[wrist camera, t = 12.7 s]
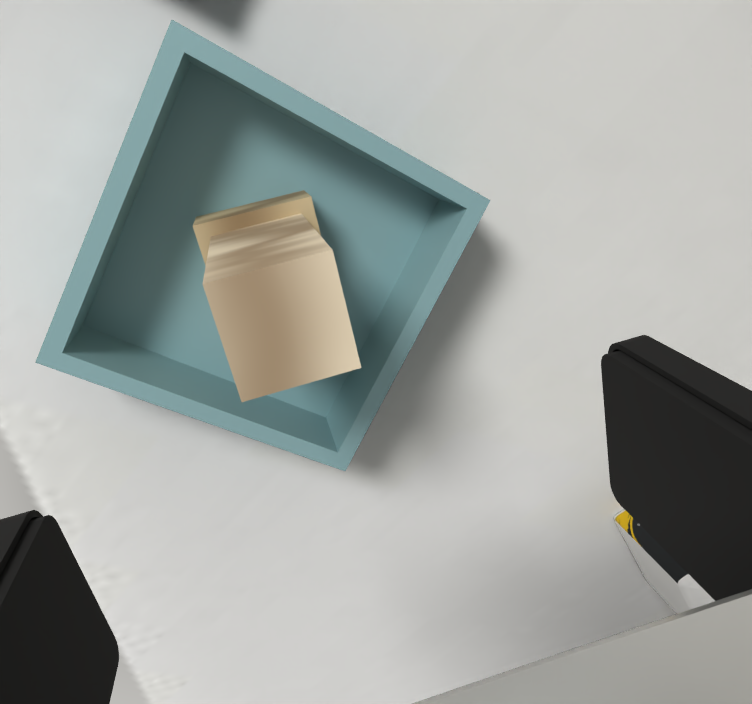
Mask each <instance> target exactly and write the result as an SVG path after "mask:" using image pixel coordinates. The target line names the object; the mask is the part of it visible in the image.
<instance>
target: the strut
mask: <svg viewBox="0 0 752 704" xmlns="http://www.w3.org/2000/svg"><path fill="white" fill-rule="evenodd" d="M193 229H194V232H195V235H196V238H197V241H198V244H199V247H200V250H201V253H202V256H203V260H204V263H205V266H206V267H205V273H204V278H203V287H204V290H205V293H206V296H207V299H208V302H209V305H210V308H211V311H212V314H213V317H214V320H215V323H216V326H217V329H218V332H219V335H220V338H221V341H222V345H223V348H224V351H225V354H226V357H227V360H228V363H229V366H230V369H231V372H232V375H233V378H234V381H235V384H236V387H237V390H238V393H239V396H240V399H241V402H245V401H248V400H252V399H255V398H259V397H262V396H266V395H269V394H272V393H276V392H279V391H283V390H286V389H290V388H293V387H297V386H300V385H304V384H307V383H311V382H314V381H317V380H321V379H324V378H328V377H331V376H335V375H338V374H342V373H345V372H349V371H352V370H356V369H359V368H361V364H360V360H359V356H358V352H357V348H356V343H355V339H354V335H353V331H352V327H351V323H350V319H349V315H348V311H347V306H346V302H345V298H344V294H343V290H342V286H341V282H340V278H339V274H338V270H337V265H336V261H335V257H334V253H333V250H332V249H331V247H330V246H329V245H328V244H327V243H326V242H325V240H324V239H323V238H322V237H321V234H320V230H319V226H318V222H317V218H316V214H315V209H314V205H313V201H312V197H311V196H310V195H309V194H308V193H307V192H305V191H304V190H302V191H298V192H294V193H290V194H286V195H282V196H278V197H274V198H270V199H266V200H262V201H258V202H254V203H250V204H246V205H242V206H238V207H234V208H230V209H226V210H222V211H218V212H214V213H210V214H206V215H202V216H197V217H196V218H195V221H194V224H193Z"/></svg>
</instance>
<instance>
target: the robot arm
mask: <svg viewBox="0 0 752 704" xmlns="http://www.w3.org/2000/svg"><path fill="white" fill-rule="evenodd" d="M601 369H602V382H603V395H604V408H605V422H606V435H607V448H608V461H609V474H610V484H611V489H612V492H613V494H614V496H615V498H616V500H617V501H618V503H619V504H620V505H621V506H622V507H623V508H624V509H625V510H626V511H627V512H628V513H629V514H630V515H631V516H632V517H633V518H634V519H635V520H636V521H637V522H638V523H639V524H640V525H641V526H642V527H643V528H644V529H645V530H646V531H647V532H648V533H649V534H650V535H651V536H652V537H653V538H654V539H655V540H656V541H657V543H658V544H659V545H660V546H661V547H662V548H663V549H664V550H665V551H666V552H667V553H668V554H669V555H670V556H671V557H672V558H673V559H674V560H675V561H676V562H677V563H678V564H679V565H680V566H681V567H682V568H683V569H684V570H685V571H686V572H687V573H688V574H689V575H690V576H691V577H692V578H693V579H694V580H695V581H696V582H697V583H698V584H699V585H700V586H701V587H702V588H703V589H704V590H705V591H706V592H707V593H708V594H709V595H710V596H711V597H712V598H713V599H714V600H715V601H714V602H711V603H708V604H705V605H702V606H699V607H696V608H693V609H690V610H687V611H684V612H681V613H678V614H675V615H672V616H669V617H666V618H663V619H660V620H657V621H654V622H651V623H648V624H646V625H643V626H640V627H637V628H634V629H631V630H628V631H625V632H622V633H619V634H616V635H613V636H610V637H607V638H604V639H601V640H598V641H595V642H592V643H589V644H586V645H583V646H580V647H577V648H574V649H571V650H568V651H565V652H562V653H559V654H556V655H553V656H550V657H547V658H544V659H541V660H538V661H535V662H533V663H530V664H527V665H524V666H521V667H518V668H515V669H512V670H509V671H506V672H503V673H500V674H497V675H494V676H492V677H489V678H486V679H483V680H480V681H477V682H474V683H471V684H468V685H465V686H462V687H459V688H456V689H453V690H451V691H448V692H445V693H442V694H439V695H436V696H433V697H430V698H427V699H424V700H421V701H418V702H415V703H413V704H752V391H751V390H749V389H747V388H745V387H743V386H741V385H739V384H738V383H736V382H734V381H732V380H730V379H728V378H726V377H724V376H722V375H721V374H719V373H717V372H715V371H713V370H711V369H709V368H707V367H706V366H704V365H702V364H700V363H698V362H696V361H694V360H692V359H690V358H689V357H687V356H685V355H683V354H681V353H679V352H677V351H675V350H673V349H672V348H670V347H668V346H666V345H664V344H662V343H660V342H658V341H656V340H655V339H653V338H651V337H649V336H646V335H642V336H638V337H635V338H631V339H628V340H624V341H621V342H617V343H614V344H612V345H611V346H610V348H609V351H608V354H605V355H604V356H603V357H602V360H601ZM118 662H119V651H118V645H117V641H116V639H115V637H114V635H113V633H112V631H111V629H110V627H109V625H108V623H107V621H106V619H105V617H104V615H103V613H102V611H101V609H100V607H99V605H98V603H97V601H96V599H95V597H94V595H93V593H92V591H91V589H90V587H89V585H88V583H87V581H86V579H85V577H84V575H83V573H82V571H81V569H80V567H79V565H78V563H77V561H76V559H75V557H74V555H73V553H72V551H71V549H70V547H69V545H68V543H67V541H66V539H65V537H64V535H63V533H62V531H61V529H60V527H59V525H58V523H57V521H56V520H55V519H54V518H53V517H52V516H50V515H47V516H44V517H43V516H42V515H41V514H40V513H39V512H38V511H35V510H32V511H29V512H26V513H22V514H18V515H15V516H11V517H8V518H4V519H1V520H0V704H109V702H110V698H111V694H112V689H113V685H114V680H115V676H116V671H117V667H118Z"/></svg>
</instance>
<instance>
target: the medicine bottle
mask: <svg viewBox="0 0 752 704" xmlns="http://www.w3.org/2000/svg"><path fill="white" fill-rule="evenodd" d="M614 521H615V523H616V525H617V527H618V529H619V530H620V532H621V534H622V536H623V538H624V540H625V542H626V543H627V545H628V547H629V549H630V551H631V553H632V555H633V557H634V558H635V560H636V562H637V564H638V566H639V568H640V570H641V572H642V573H643V575H644V577H645V579H646V581H647V582H648V583H649V584H650V585H651V586H652V588H653V589H654V590H655V591H656V592H657V593H658V594H659V595H660V596H661V597H662V598H663V599H664V601H665V602H666V603H667V604H668V605H669V606H670V607H671V608H672V609H673V610H674V611H675V612H676V614H678V613H681V612H684V611H687V610H690V609H693V608H696V607H699V606H702V605H705V604H708V603H711V602H714V601H715V600H714V599H713V598H712V597H711V596H710V595H709V594H708V593H707V592H706V591H705V590H704V589H703V588H702V587H701V586H700V585H699V584H698V583H697V582H696V581H695V580H694V579H693V578H692V577H691V576H690V575H689V574H688V573H687V572H686V571H685V570H684V569H683V568H682V567H681V566H680V565H679V564H678V563H677V562H676V561H675V560H674V559H673V558H672V557H671V556H670V555H669V554H668V553H667V552H666V551H665V550H664V549H663V548H662V547H661V546H660V545H659V544H658V543H657V541H656V540H655V539H654V538H653V537H652V536H651V535H650V534H649V533H648V532H647V531H646V530H645V529H644V528H643V527H642V526H641V525H640V524H639V523H638V522H637V521H636V520H635V519H634V518H633V517H632V516H631V515H630V514H629V513H628V512H627V511H626V510H625V509H624V510H622V511H621V512H619V513H618V514H616V515H615V517H614Z"/></svg>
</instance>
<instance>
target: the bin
mask: <svg viewBox="0 0 752 704" xmlns="http://www.w3.org/2000/svg"><path fill="white" fill-rule="evenodd" d="M302 190H304V191H305V192H307V193H308V194H309V195H310V196H311V197H312V201H313V205H314V209H315V214H316V218H317V222H318V226H319V230H320V234H321V237H322V238H323V239H324V240H325V242H326V243H327V244H328V245H329V246H330V247H331V249H332V250H333V253H334V257H335V261H336V265H337V270H338V274H339V278H340V282H341V286H342V290H343V294H344V298H345V302H346V306H347V311H348V315H349V319H350V323H351V327H352V331H353V335H354V339H355V343H356V348H357V352H358V356H359V360H360V364H361V368H359V369H356V370H352V371H349V372H345V373H342V374H338V375H335V376H331V377H328V378H324V379H321V380H317V381H314V382H311V383H307V384H304V385H300V386H297V387H293V388H290V389H286V390H283V391H279V392H276V393H272V394H269V395H266V396H262V397H259V398H255V399H252V400H248V401H245V402H241V399H240V396H239V393H238V390H237V387H236V384H235V381H234V378H233V375H232V372H231V369H230V366H229V363H228V360H227V357H226V354H225V351H224V348H223V345H222V341H221V338H220V335H219V332H218V329H217V326H216V323H215V320H214V317H213V314H212V311H211V308H210V305H209V302H208V299H207V296H206V293H205V290H204V287H203V278H204V273H205V267H206V266H205V263H204V260H203V256H202V253H201V250H200V247H199V244H198V241H197V238H196V235H195V232H194V229H193V224H194V221H195V218H196V217H197V216H202V215H206V214H210V213H214V212H218V211H222V210H226V209H230V208H234V207H238V206H242V205H246V204H250V203H254V202H258V201H262V200H266V199H270V198H274V197H278V196H282V195H286V194H290V193H294V192H298V191H302ZM489 202H490V200H489V199H487V198H485V197H483V196H482V195H480V194H478V193H476V192H475V191H473V190H471V189H469V188H468V187H466V186H464V185H462V184H461V183H459V182H457V181H455V180H453V179H452V178H450V177H448V176H446V175H445V174H443V173H441V172H439V171H438V170H436V169H434V168H432V167H431V166H429V165H427V164H425V163H424V162H422V161H420V160H418V159H417V158H415V157H413V156H411V155H409V154H408V153H406V152H404V151H402V150H401V149H399V148H397V147H395V146H394V145H392V144H390V143H388V142H387V141H385V140H383V139H381V138H380V137H378V136H376V135H374V134H372V133H371V132H369V131H367V130H365V129H364V128H362V127H360V126H358V125H357V124H355V123H353V122H351V121H350V120H348V119H346V118H344V117H343V116H341V115H339V114H337V113H336V112H334V111H332V110H330V109H328V108H327V107H325V106H323V105H321V104H320V103H318V102H316V101H314V100H313V99H311V98H309V97H307V96H306V95H304V94H302V93H300V92H299V91H297V90H295V89H293V88H291V87H290V86H288V85H286V84H284V83H283V82H281V81H279V80H277V79H276V78H274V77H272V76H270V75H269V74H267V73H265V72H263V71H262V70H260V69H258V68H256V67H255V66H253V65H251V64H249V63H247V62H246V61H244V60H242V59H240V58H239V57H237V56H235V55H233V54H232V53H230V52H228V51H226V50H225V49H223V48H221V47H219V46H218V45H216V44H214V43H212V42H211V41H209V40H207V39H205V38H203V37H202V36H200V35H198V34H196V33H195V32H193V31H191V30H189V29H188V28H186V27H184V26H182V25H181V24H179V23H177V22H175V21H174V20H171V23H170V25H169V28H168V30H167V33H166V35H165V38H164V40H163V43H162V45H161V48H160V50H159V53H158V55H157V58H156V60H155V63H154V65H153V68H152V70H151V73H150V75H149V78H148V80H147V83H146V85H145V88H144V90H143V93H142V96H141V98H140V101H139V103H138V106H137V108H136V111H135V113H134V116H133V118H132V121H131V123H130V126H129V128H128V131H127V133H126V136H125V138H124V141H123V143H122V146H121V148H120V151H119V153H118V156H117V158H116V161H115V163H114V166H113V169H112V171H111V174H110V176H109V179H108V181H107V184H106V186H105V189H104V191H103V194H102V196H101V199H100V201H99V204H98V206H97V209H96V211H95V214H94V216H93V219H92V221H91V224H90V226H89V229H88V231H87V234H86V236H85V239H84V242H83V244H82V247H81V249H80V252H79V254H78V257H77V259H76V262H75V264H74V267H73V269H72V272H71V274H70V277H69V279H68V282H67V284H66V287H65V289H64V292H63V294H62V297H61V299H60V302H59V304H58V307H57V309H56V312H55V314H54V317H53V320H52V322H51V325H50V327H49V330H48V332H47V335H46V337H45V340H44V342H43V345H42V347H41V350H40V352H39V355H38V357H37V360H36V362H35V363H38V364H41V365H44V366H47V367H50V368H52V369H55V370H58V371H61V372H64V373H67V374H70V375H72V376H75V377H78V378H81V379H84V380H87V381H89V382H92V383H95V384H98V385H101V386H104V387H107V388H109V389H112V390H115V391H118V392H121V393H124V394H126V395H129V396H132V397H135V398H138V399H141V400H144V401H146V402H149V403H152V404H155V405H158V406H161V407H164V408H166V409H169V410H172V411H175V412H178V413H181V414H183V415H186V416H189V417H192V418H195V419H198V420H201V421H203V422H206V423H209V424H212V425H215V426H218V427H220V428H223V429H226V430H229V431H232V432H235V433H238V434H240V435H243V436H246V437H249V438H252V439H255V440H257V441H260V442H263V443H266V444H269V445H272V446H275V447H277V448H280V449H283V450H286V451H289V452H292V453H294V454H297V455H300V456H303V457H306V458H309V459H312V460H314V461H317V462H320V463H323V464H326V465H329V466H332V467H334V468H337V469H340V470H343V471H346V469H347V467H348V465H349V463H350V461H351V459H352V458H353V456H354V454H355V452H356V450H357V448H358V446H359V444H360V443H361V441H362V439H363V437H364V435H365V433H366V431H367V430H368V428H369V426H370V424H371V422H372V420H373V418H374V416H375V415H376V413H377V411H378V409H379V407H380V405H381V403H382V402H383V400H384V398H385V396H386V394H387V392H388V390H389V389H390V387H391V385H392V383H393V381H394V379H395V377H396V375H397V374H398V372H399V370H400V368H401V366H402V364H403V362H404V361H405V359H406V357H407V355H408V353H409V351H410V349H411V347H412V346H413V344H414V342H415V340H416V338H417V336H418V334H419V333H420V331H421V329H422V327H423V325H424V323H425V321H426V319H427V318H428V316H429V314H430V312H431V310H432V308H433V306H434V305H435V303H436V301H437V299H438V297H439V295H440V293H441V291H442V290H443V288H444V286H445V284H446V282H447V280H448V278H449V277H450V275H451V273H452V271H453V269H454V267H455V265H456V264H457V262H458V260H459V258H460V256H461V254H462V252H463V250H464V249H465V247H466V245H467V243H468V241H469V239H470V237H471V236H472V234H473V232H474V230H475V228H476V226H477V224H478V222H479V221H480V219H481V217H482V215H483V213H484V211H485V209H486V208H487V206H488V204H489Z"/></svg>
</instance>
